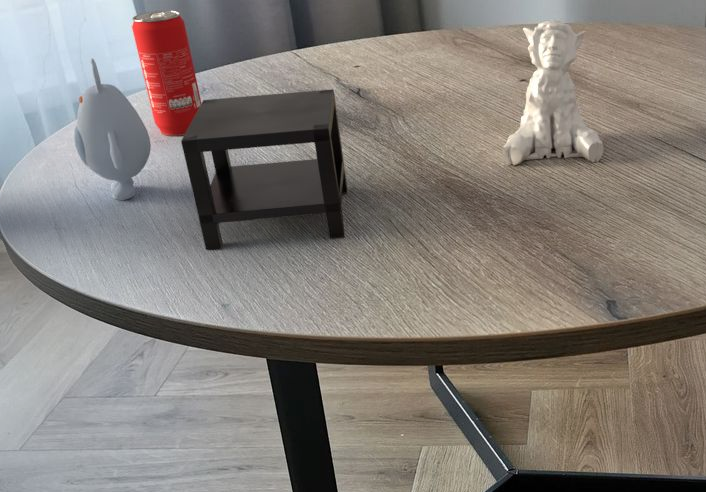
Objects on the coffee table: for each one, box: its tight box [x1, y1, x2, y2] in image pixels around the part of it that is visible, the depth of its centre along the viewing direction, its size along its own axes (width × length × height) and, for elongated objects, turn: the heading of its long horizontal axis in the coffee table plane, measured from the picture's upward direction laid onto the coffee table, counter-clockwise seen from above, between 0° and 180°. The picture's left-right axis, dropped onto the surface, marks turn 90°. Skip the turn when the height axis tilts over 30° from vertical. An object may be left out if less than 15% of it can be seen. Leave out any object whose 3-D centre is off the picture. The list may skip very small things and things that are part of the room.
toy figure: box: [73, 58, 152, 201], centre depth 85 cm, size 11×6×12 cm, turn 22°
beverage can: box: [131, 10, 202, 137], centre depth 101 cm, size 5×5×12 cm
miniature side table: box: [180, 89, 348, 251], centre depth 79 cm, size 11×11×9 cm
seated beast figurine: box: [500, 19, 605, 166], centre depth 90 cm, size 10×9×12 cm
